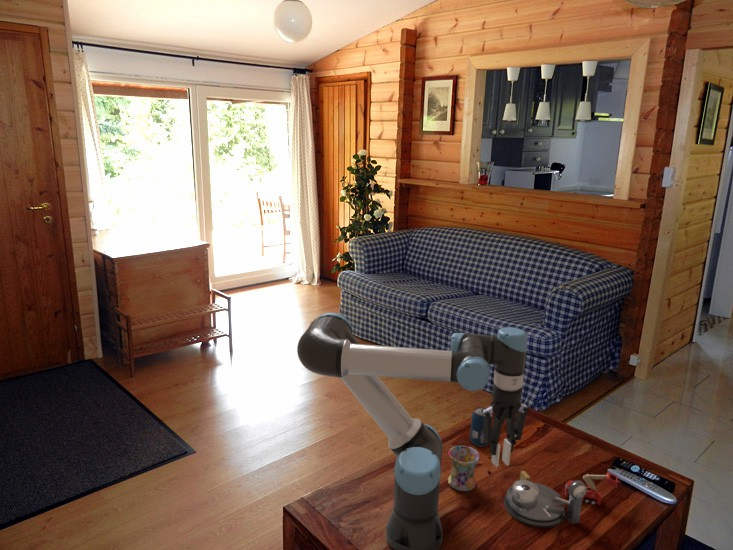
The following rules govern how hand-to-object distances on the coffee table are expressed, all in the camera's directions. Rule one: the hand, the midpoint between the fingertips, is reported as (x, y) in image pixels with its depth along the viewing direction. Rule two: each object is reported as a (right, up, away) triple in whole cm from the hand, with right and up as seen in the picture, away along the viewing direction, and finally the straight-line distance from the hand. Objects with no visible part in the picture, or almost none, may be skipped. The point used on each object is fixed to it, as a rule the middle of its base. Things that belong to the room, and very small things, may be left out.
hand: (500, 463), depth 153 cm
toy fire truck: (+29, -15, +11) cm, 34 cm away
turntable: (+12, -14, +7) cm, 20 cm away
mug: (-8, -12, +18) cm, 23 cm away
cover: (+8, -13, +6) cm, 16 cm away
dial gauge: (+20, -17, +3) cm, 26 cm away
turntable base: (+12, -15, +7) cm, 21 cm away
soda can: (+3, -7, +40) cm, 41 cm away
